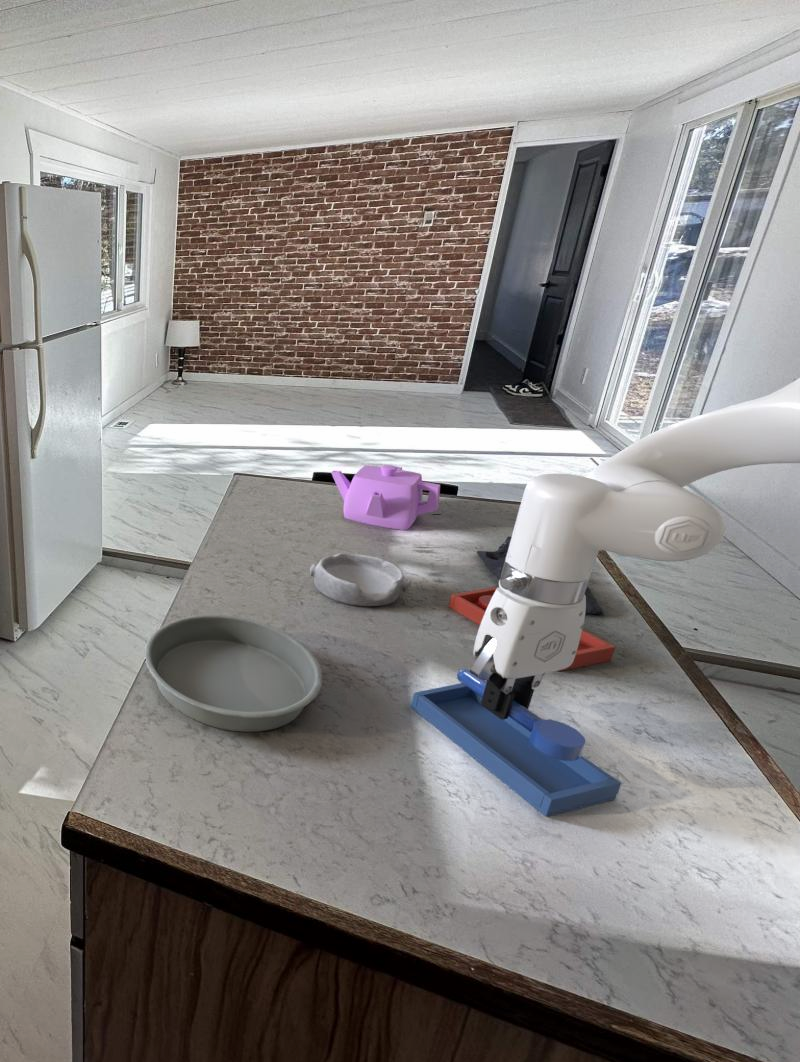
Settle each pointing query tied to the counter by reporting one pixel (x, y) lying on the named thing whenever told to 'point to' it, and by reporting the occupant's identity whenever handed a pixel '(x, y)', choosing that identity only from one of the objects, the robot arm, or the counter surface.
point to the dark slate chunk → (497, 562)
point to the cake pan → (232, 671)
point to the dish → (359, 579)
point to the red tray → (589, 645)
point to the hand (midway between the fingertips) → (503, 709)
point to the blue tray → (514, 753)
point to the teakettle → (386, 496)
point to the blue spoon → (536, 726)
